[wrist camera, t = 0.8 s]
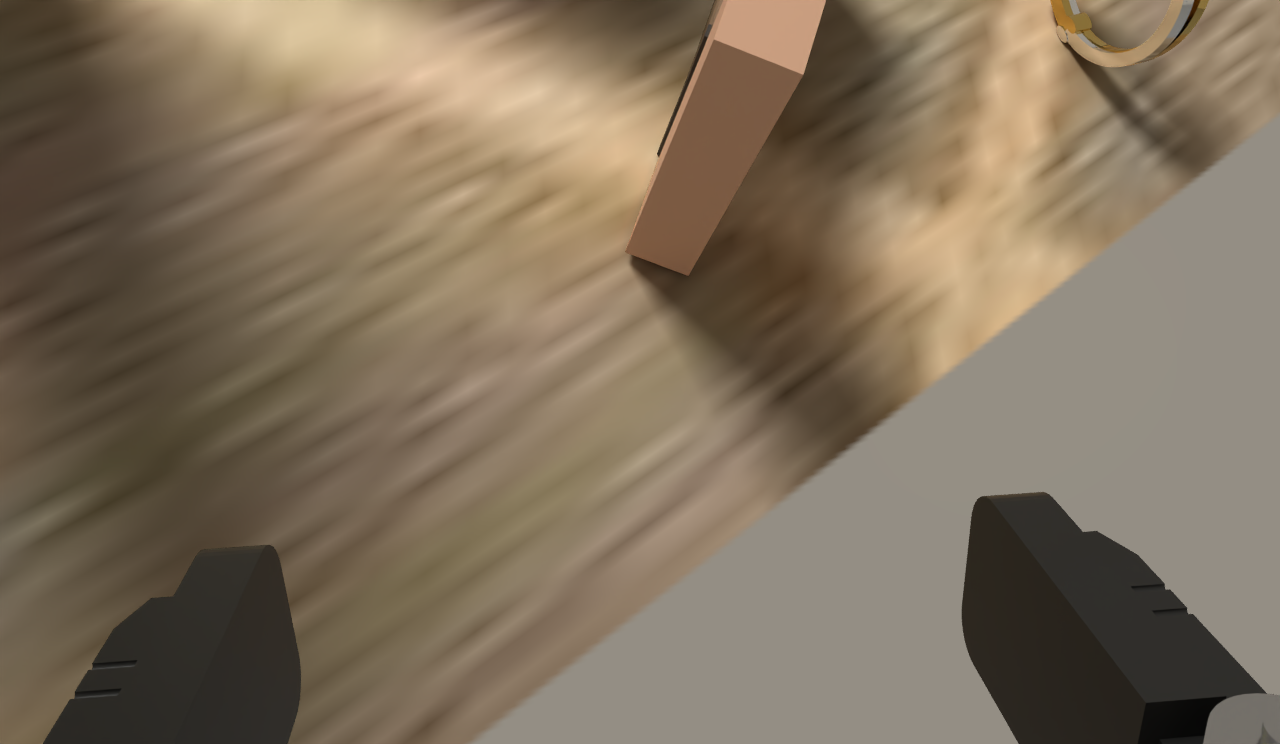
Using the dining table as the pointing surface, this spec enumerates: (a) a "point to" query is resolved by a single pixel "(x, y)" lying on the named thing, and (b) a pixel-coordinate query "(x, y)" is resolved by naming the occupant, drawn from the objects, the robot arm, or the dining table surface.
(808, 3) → the rectangular block
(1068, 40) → the ring
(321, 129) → the dining table surface
